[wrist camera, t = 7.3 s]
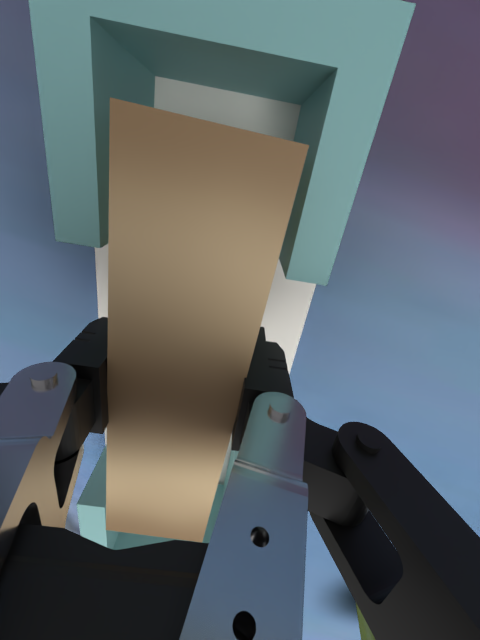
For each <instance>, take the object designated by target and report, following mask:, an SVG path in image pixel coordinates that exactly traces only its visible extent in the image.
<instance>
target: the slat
mask: <svg viewBox="0 0 480 640" xmlns="http://www.w3.org/2000/svg"><path fill="white" fill-rule="evenodd" d="M308 148H309V145H306V144H302V143H298V142H294V141H290V140H285V139H281V138H277V137H273V136H269V135H265V134H261V133H256V132H252V131H248V130H244V129H240V128H236V127H231V126H227V125H223V124H219V123H215V122H211V121H206V120H202V119H198V118H194V117H190V116H186V115H182V114H177V113H173V112H169V111H165V110H161V109H157V108H152V107H148V106H144V105H140V104H136V103H132V102H128V101H123V100H119V99H115V98H111V97H110V127H109V238H108V349H107V396H108V417H109V423H108V425H107V460H106V530H110V531H117V532H125V533H133V534H140V535H148V536H156V537H164V538H171V539H179V540H187V541H194V542H202V541H203V538H204V534H205V530H206V527H207V523H208V519H209V515H210V512H211V508H212V504H213V501H214V497H215V493H216V489H217V486H218V482H219V478H220V475H221V471H222V467H223V463H224V460H225V456H226V452H227V449H228V445H229V441H230V437H231V434H232V430H233V426H234V423H235V419H236V415H237V411H238V406H239V401H240V397H241V392H242V387H243V382H244V377H245V378H247V374H248V371H249V367H250V363H251V359H252V356H253V352H254V348H255V345H256V341H257V337H258V333H259V330H260V326H261V322H262V319H263V315H264V311H265V307H266V304H267V300H268V296H269V293H270V289H271V285H272V281H273V278H274V274H275V270H276V267H277V263H278V259H279V255H280V252H281V248H282V244H283V241H284V237H285V233H286V229H287V226H288V222H289V218H290V215H291V211H292V207H293V203H294V200H295V196H296V192H297V189H298V185H299V181H300V177H301V174H302V170H303V166H304V163H305V159H306V155H307V151H308Z"/></svg>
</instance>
